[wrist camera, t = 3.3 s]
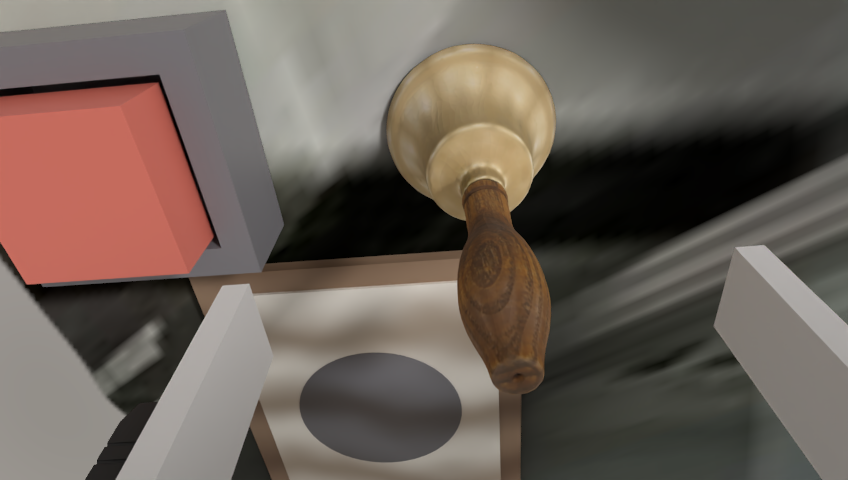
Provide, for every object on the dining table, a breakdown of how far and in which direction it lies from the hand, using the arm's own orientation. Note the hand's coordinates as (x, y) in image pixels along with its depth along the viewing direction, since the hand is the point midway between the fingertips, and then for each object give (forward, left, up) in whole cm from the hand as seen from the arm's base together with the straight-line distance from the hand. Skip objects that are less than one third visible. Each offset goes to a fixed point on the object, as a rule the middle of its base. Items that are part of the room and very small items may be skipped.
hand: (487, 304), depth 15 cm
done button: (-1, -16, -9) cm, 18 cm away
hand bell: (0, 0, -14) cm, 14 cm away
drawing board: (+19, -7, -13) cm, 24 cm away
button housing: (-1, -16, -13) cm, 21 cm away
